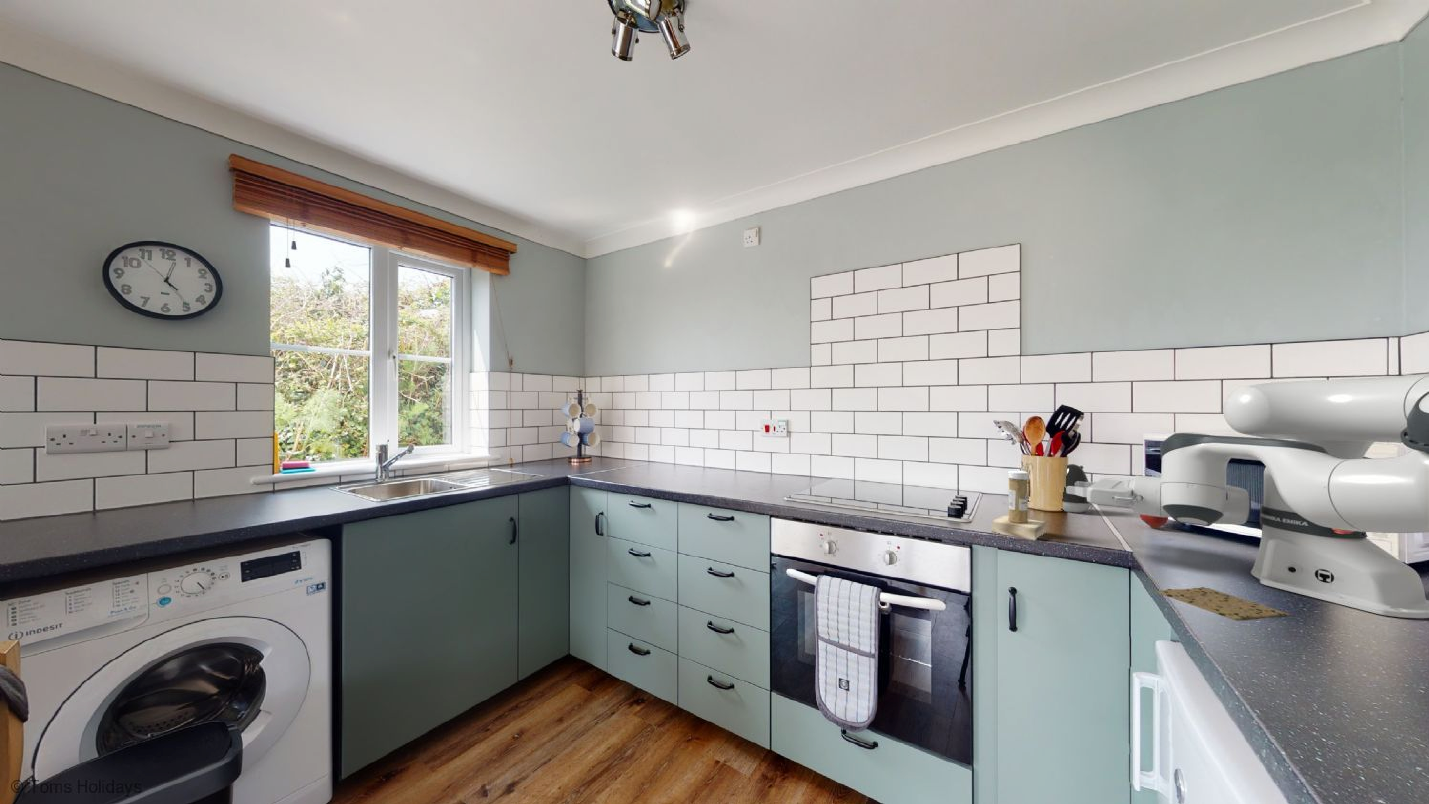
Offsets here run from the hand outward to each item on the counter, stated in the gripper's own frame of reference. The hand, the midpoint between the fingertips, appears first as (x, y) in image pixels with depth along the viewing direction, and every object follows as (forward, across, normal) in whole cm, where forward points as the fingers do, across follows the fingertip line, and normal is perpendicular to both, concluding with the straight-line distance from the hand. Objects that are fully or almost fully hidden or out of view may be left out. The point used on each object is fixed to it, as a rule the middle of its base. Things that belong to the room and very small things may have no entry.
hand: (1071, 487), depth 121 cm
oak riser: (+11, 0, -14) cm, 18 cm away
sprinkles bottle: (+12, 0, -11) cm, 16 cm away
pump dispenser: (+7, +44, -14) cm, 47 cm away
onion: (-13, +34, -14) cm, 39 cm away
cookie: (-26, -26, -14) cm, 39 cm away
